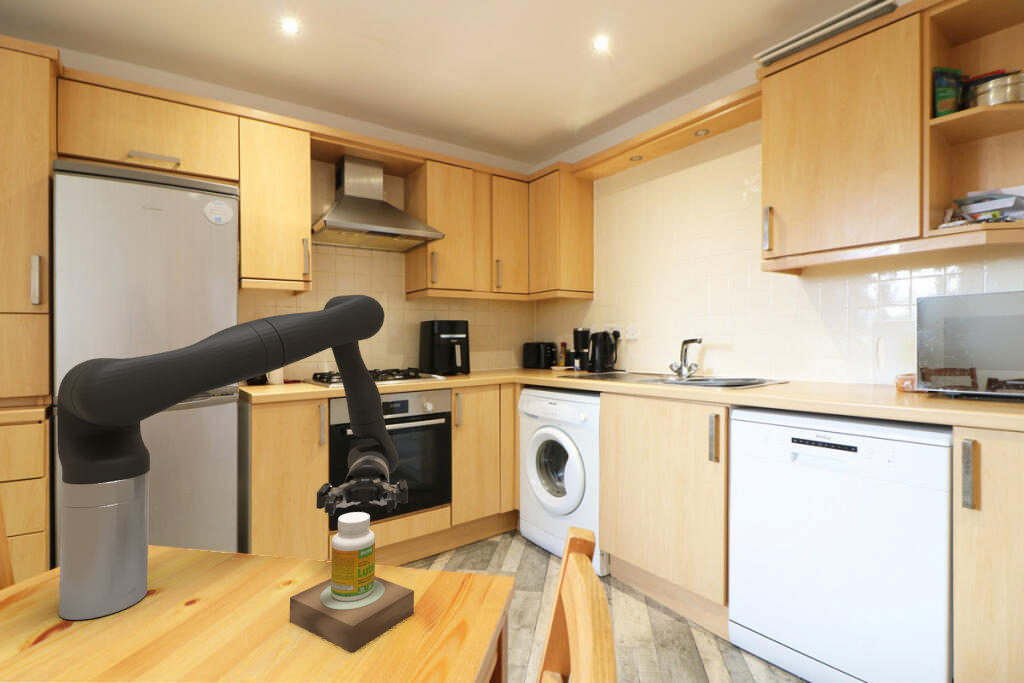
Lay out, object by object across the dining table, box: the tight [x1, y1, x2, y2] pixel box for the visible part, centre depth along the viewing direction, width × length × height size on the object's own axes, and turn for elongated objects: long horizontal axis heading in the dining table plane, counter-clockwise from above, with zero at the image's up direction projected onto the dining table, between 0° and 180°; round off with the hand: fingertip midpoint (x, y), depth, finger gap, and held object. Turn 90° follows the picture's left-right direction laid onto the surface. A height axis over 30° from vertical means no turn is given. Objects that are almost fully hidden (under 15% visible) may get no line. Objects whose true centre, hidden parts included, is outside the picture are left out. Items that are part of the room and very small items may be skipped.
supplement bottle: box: [330, 511, 376, 601], centre depth 63 cm, size 5×5×10 cm
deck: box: [289, 575, 415, 654], centre depth 63 cm, size 12×10×3 cm
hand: (360, 507), depth 74 cm, fingers open, 8 cm apart
